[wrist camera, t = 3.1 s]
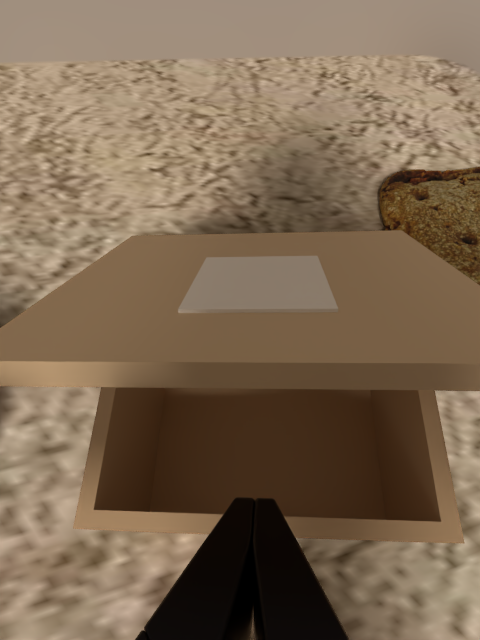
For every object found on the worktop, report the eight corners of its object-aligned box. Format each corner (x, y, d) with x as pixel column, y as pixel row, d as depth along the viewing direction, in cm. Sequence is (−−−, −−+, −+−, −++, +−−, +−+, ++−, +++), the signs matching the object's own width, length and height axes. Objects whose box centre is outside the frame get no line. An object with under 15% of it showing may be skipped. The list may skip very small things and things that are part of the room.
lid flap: (581, 391, 8) (593, 359, 7) (-39, 385, 9) (-49, 356, 8) (399, 243, 19) (401, 228, 18) (134, 248, 20) (132, 233, 19)
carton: (398, 541, 20) (464, 543, 13) (138, 531, 21) (73, 528, 14) (369, 324, 26) (406, 244, 19) (166, 324, 27) (128, 249, 20)
